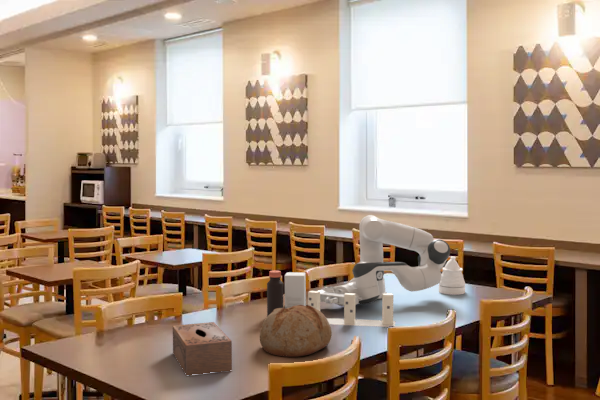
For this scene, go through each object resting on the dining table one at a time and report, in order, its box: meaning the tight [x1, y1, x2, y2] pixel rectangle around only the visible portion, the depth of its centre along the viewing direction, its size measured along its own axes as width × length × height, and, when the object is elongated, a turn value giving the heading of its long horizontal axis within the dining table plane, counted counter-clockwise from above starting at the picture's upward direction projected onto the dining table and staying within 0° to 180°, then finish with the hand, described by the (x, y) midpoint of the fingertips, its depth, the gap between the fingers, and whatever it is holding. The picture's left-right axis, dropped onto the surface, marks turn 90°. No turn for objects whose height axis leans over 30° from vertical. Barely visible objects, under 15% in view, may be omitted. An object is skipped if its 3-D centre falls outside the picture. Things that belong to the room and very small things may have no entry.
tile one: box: [381, 292, 394, 325], centre depth 269 cm, size 3×4×12 cm
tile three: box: [307, 290, 321, 312], centre depth 274 cm, size 3×4×12 cm
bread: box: [259, 304, 333, 358], centre depth 237 cm, size 26×23×15 cm
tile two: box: [343, 293, 356, 324], centre depth 270 cm, size 3×4×12 cm
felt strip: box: [326, 317, 396, 328], centre depth 272 cm, size 36×10×1 cm, turn 80°
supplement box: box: [284, 271, 307, 309], centre depth 302 cm, size 9×9×15 cm
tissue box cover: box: [172, 321, 233, 376], centre depth 221 cm, size 26×14×10 cm, turn 20°
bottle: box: [266, 269, 284, 317], centre depth 279 cm, size 7×7×20 cm
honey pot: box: [438, 256, 466, 296], centre depth 334 cm, size 13×13×18 cm
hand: (328, 301), depth 285 cm, fingers closed
